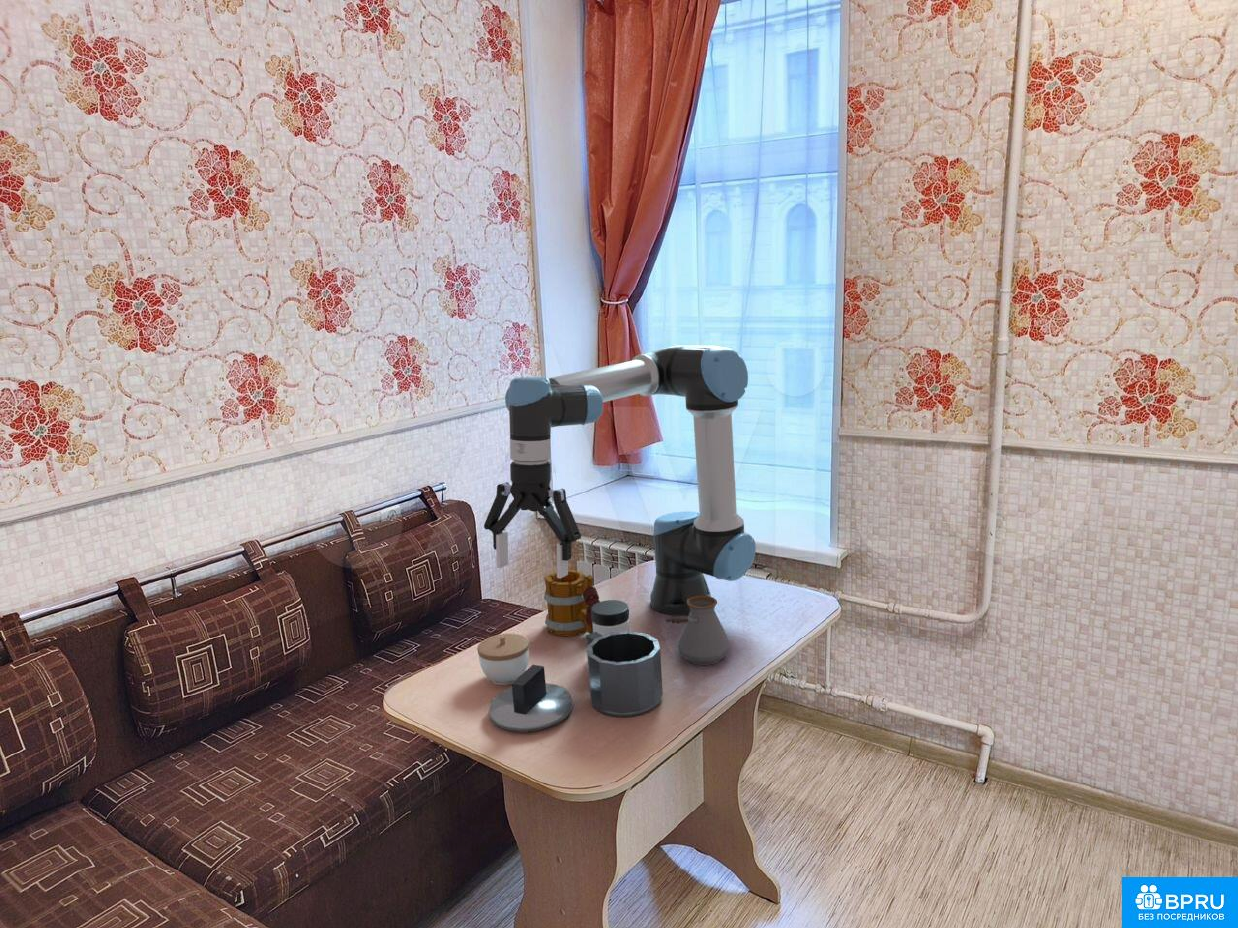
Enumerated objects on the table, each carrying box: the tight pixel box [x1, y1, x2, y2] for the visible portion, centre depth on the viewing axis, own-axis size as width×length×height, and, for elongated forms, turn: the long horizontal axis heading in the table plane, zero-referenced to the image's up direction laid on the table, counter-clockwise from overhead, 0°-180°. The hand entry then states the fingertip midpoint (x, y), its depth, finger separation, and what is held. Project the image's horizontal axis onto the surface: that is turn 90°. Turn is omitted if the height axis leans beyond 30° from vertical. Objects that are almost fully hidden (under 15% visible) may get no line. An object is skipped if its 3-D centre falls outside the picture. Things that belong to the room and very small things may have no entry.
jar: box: [591, 599, 631, 636], centre depth 179 cm, size 9×8×12 cm
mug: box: [543, 569, 601, 637], centre depth 195 cm, size 11×16×15 cm, turn 46°
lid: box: [488, 664, 573, 732], centre depth 160 cm, size 16×16×8 cm
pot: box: [585, 630, 664, 718], centre depth 164 cm, size 14×18×11 cm
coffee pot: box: [661, 596, 731, 666], centre depth 173 cm, size 21×12×15 cm, turn 147°
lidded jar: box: [477, 633, 530, 686], centre depth 174 cm, size 11×11×9 cm
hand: (531, 571), depth 157 cm, fingers open, 13 cm apart
